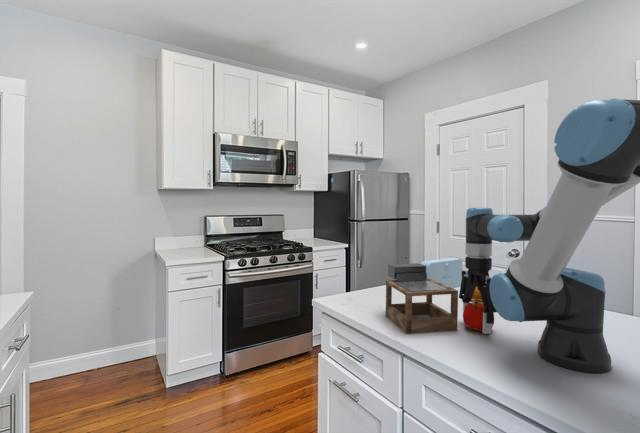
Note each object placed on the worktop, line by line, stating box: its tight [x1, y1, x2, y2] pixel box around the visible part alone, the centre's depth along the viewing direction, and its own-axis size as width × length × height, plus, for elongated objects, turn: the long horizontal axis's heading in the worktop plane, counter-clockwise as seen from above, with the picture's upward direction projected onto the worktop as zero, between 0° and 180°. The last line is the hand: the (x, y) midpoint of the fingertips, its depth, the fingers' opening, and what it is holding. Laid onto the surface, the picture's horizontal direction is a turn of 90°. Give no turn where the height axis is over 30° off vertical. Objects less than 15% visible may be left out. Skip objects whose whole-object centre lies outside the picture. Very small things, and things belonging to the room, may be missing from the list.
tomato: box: [462, 302, 495, 332], centre depth 108 cm, size 9×9×8 cm
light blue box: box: [420, 257, 463, 289], centre depth 159 cm, size 23×6×13 cm, turn 122°
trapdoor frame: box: [385, 279, 459, 335], centre depth 114 cm, size 17×17×12 cm
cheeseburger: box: [471, 286, 485, 305], centre depth 132 cm, size 10×11×10 cm
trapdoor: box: [387, 262, 449, 292], centre depth 117 cm, size 19×13×6 cm
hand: (477, 327), depth 108 cm, fingers closed on tomato, 9 cm apart
